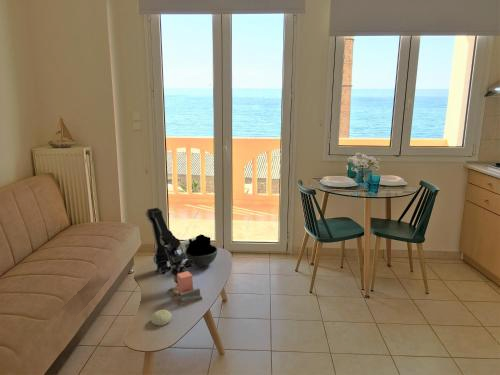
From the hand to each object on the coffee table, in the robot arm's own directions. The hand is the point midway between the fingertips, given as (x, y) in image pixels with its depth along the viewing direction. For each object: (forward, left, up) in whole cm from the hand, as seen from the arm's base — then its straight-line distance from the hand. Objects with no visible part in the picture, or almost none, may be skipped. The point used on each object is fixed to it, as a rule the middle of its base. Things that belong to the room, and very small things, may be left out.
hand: (181, 281), depth 204 cm
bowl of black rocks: (-16, +31, -7) cm, 36 cm away
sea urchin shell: (+13, -24, -7) cm, 28 cm away
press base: (+3, -1, -7) cm, 8 cm away
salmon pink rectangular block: (+5, -2, -5) cm, 7 cm away
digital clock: (-34, +39, -7) cm, 52 cm away
